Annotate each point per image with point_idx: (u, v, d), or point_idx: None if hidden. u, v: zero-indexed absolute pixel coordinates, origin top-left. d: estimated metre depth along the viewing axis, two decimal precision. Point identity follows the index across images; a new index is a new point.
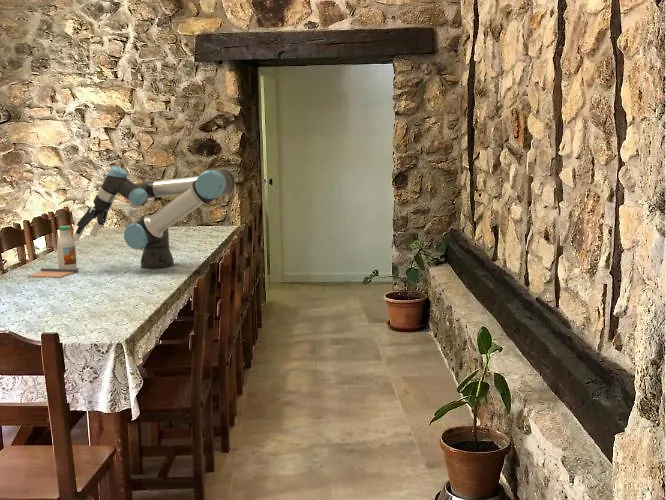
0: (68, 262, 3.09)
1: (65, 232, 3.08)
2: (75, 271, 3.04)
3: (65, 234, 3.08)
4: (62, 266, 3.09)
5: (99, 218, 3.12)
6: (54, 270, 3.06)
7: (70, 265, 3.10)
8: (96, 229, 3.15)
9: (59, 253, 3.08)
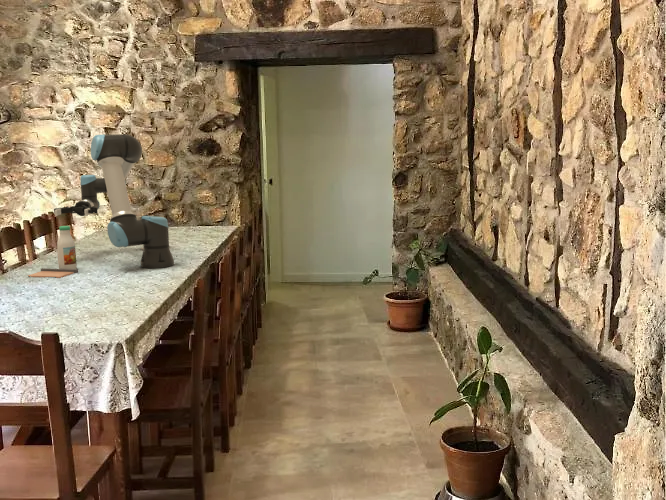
0: (68, 262, 3.09)
1: (65, 232, 3.08)
2: (75, 271, 3.04)
3: (65, 234, 3.08)
4: (62, 266, 3.09)
5: None
6: (54, 270, 3.06)
7: (70, 265, 3.10)
8: None
9: (59, 253, 3.08)
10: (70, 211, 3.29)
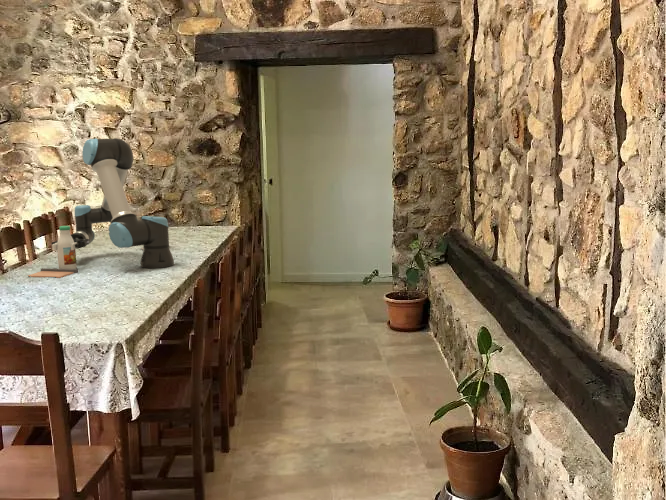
0: (68, 262, 3.09)
1: (65, 232, 3.08)
2: (75, 271, 3.04)
3: (65, 234, 3.08)
4: (62, 266, 3.09)
5: None
6: (54, 270, 3.06)
7: (70, 265, 3.10)
8: None
9: (59, 253, 3.08)
10: None
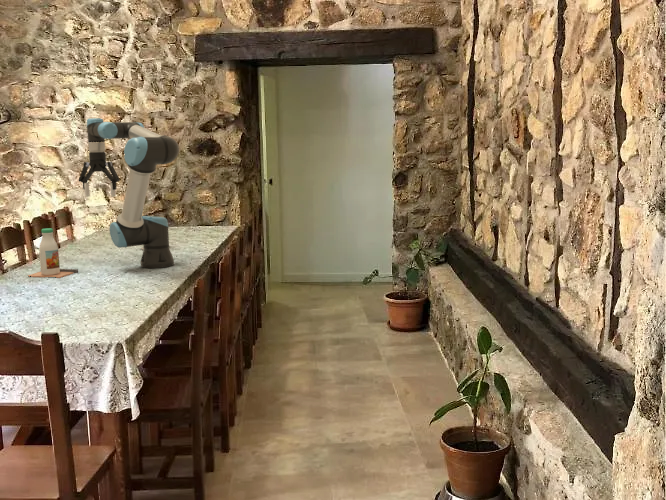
0: (51, 266, 2.96)
1: (48, 234, 2.96)
2: (75, 271, 3.04)
3: (47, 237, 2.96)
4: (44, 270, 2.96)
5: None
6: None
7: (53, 269, 2.97)
8: None
9: (41, 257, 2.96)
10: (92, 173, 3.25)
